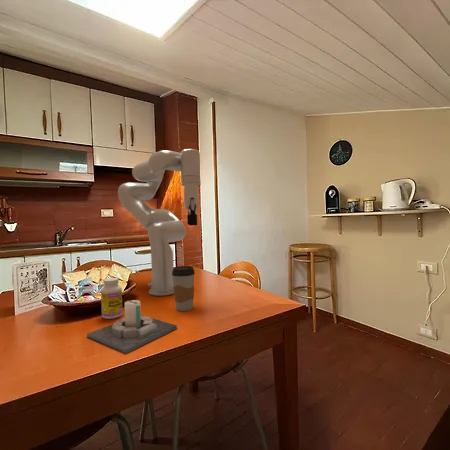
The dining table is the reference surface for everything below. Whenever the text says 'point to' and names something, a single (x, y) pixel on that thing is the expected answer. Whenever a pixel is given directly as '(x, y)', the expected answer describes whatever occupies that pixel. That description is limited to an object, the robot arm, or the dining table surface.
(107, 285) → the supplement bottle
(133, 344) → the hub plate
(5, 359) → the dining table surface
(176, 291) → the coffee cup
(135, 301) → the knob
